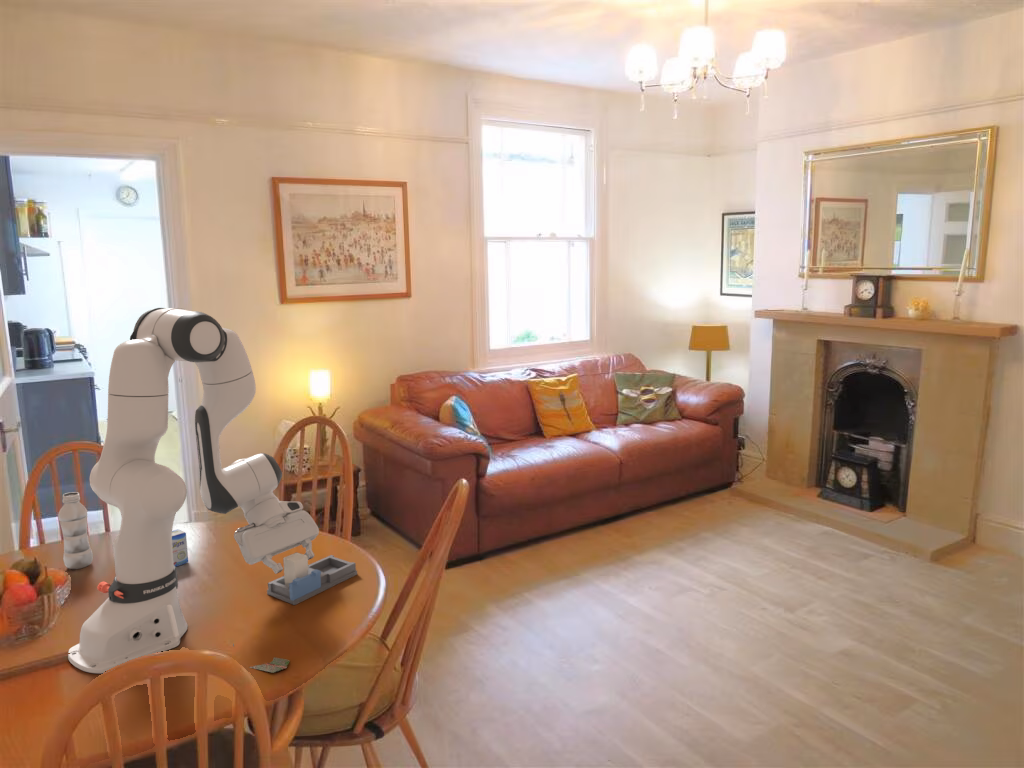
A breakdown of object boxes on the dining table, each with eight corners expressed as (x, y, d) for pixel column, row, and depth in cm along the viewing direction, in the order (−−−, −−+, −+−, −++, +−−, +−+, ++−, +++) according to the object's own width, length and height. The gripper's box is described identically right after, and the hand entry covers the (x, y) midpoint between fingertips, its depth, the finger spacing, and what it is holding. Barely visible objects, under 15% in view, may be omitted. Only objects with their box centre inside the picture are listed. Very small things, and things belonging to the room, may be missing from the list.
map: (277, 678, 138) (277, 673, 138) (202, 653, 147) (202, 649, 147) (296, 664, 143) (295, 660, 142) (221, 642, 151) (221, 638, 151)
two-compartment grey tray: (296, 605, 166) (294, 582, 165) (267, 594, 172) (265, 571, 171) (358, 574, 182) (358, 553, 181) (330, 565, 188) (329, 544, 187)
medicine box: (159, 573, 184) (156, 541, 182) (151, 568, 186) (148, 537, 185) (189, 562, 190) (186, 532, 188) (180, 558, 192) (177, 528, 191)
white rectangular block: (295, 593, 170) (294, 561, 169) (285, 588, 173) (283, 557, 171) (309, 586, 174) (307, 556, 172) (298, 582, 176) (296, 552, 174)
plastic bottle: (84, 572, 184) (76, 498, 180) (58, 572, 184) (49, 498, 180) (99, 561, 190) (91, 490, 187) (74, 561, 190) (66, 490, 187)
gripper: (235, 524, 166) (264, 573, 162) (305, 500, 182) (333, 544, 178) (225, 537, 169) (253, 587, 165) (295, 513, 185) (322, 557, 182)
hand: (295, 564), depth 172 cm, fingers open, 8 cm apart
